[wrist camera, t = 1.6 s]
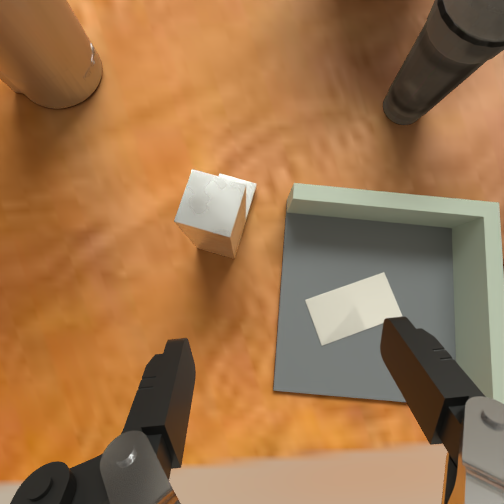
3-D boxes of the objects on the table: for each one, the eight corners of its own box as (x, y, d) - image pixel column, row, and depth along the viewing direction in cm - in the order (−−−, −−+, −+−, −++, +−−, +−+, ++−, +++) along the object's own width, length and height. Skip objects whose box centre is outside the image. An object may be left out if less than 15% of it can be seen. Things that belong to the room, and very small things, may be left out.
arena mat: (273, 389, 27) (273, 391, 27) (286, 200, 31) (287, 198, 30) (469, 406, 28) (474, 408, 27) (462, 216, 31) (466, 215, 30)
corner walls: (273, 389, 27) (278, 406, 23) (286, 200, 31) (294, 182, 26) (469, 406, 28) (513, 426, 23) (462, 216, 31) (499, 202, 26)
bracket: (234, 259, 30) (230, 237, 20) (197, 248, 30) (174, 221, 20) (256, 188, 31) (261, 135, 21) (220, 178, 31) (209, 120, 21)
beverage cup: (430, 80, 34) (692, -232, 14) (436, 136, 32) (733, -118, 13) (369, 78, 34) (546, -240, 14) (373, 135, 32) (574, -125, 13)
